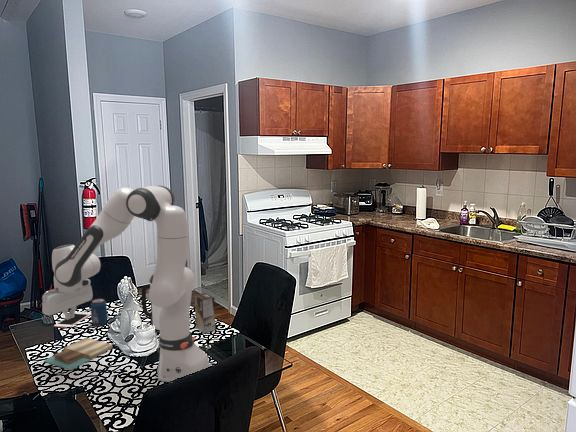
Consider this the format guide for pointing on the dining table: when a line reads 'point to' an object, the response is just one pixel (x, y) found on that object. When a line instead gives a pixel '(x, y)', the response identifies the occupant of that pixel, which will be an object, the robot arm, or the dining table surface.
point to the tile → (68, 356)
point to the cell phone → (73, 319)
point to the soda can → (98, 312)
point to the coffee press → (154, 310)
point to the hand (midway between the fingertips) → (69, 318)
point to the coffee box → (205, 312)
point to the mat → (65, 365)
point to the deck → (90, 347)
